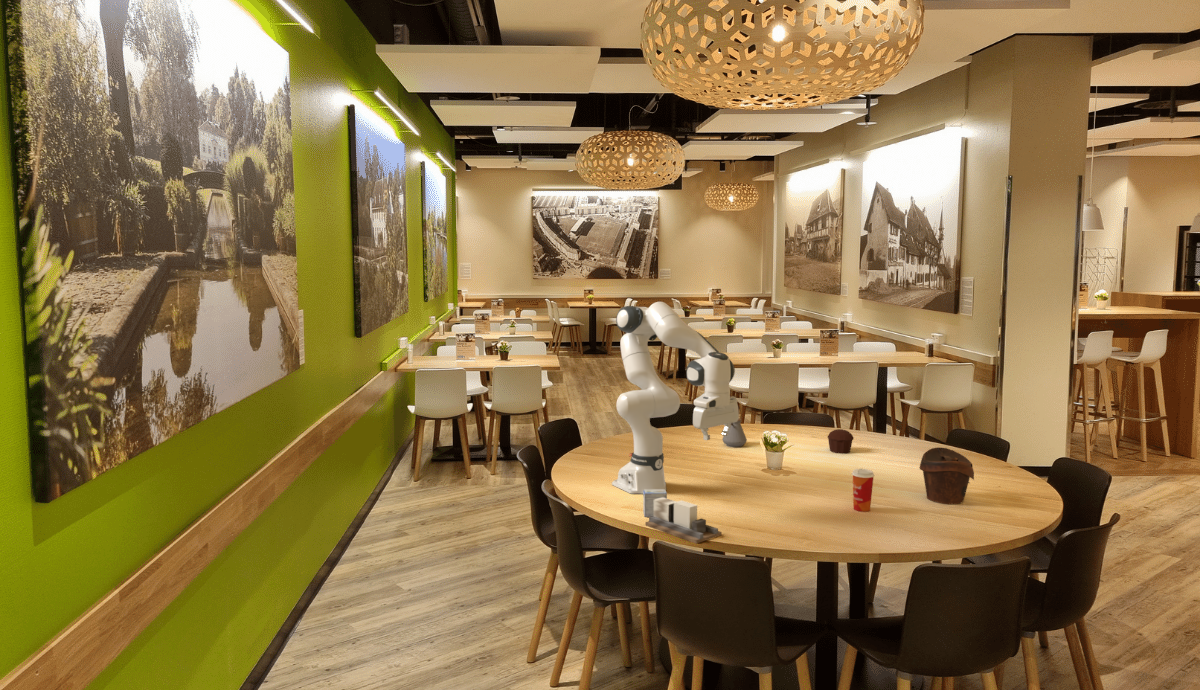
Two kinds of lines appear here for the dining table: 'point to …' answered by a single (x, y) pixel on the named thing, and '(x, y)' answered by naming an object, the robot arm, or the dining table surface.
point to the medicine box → (651, 500)
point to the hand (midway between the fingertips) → (715, 437)
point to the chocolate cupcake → (946, 475)
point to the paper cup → (862, 489)
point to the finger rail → (665, 523)
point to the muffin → (840, 441)
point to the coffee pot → (735, 435)
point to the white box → (684, 513)
